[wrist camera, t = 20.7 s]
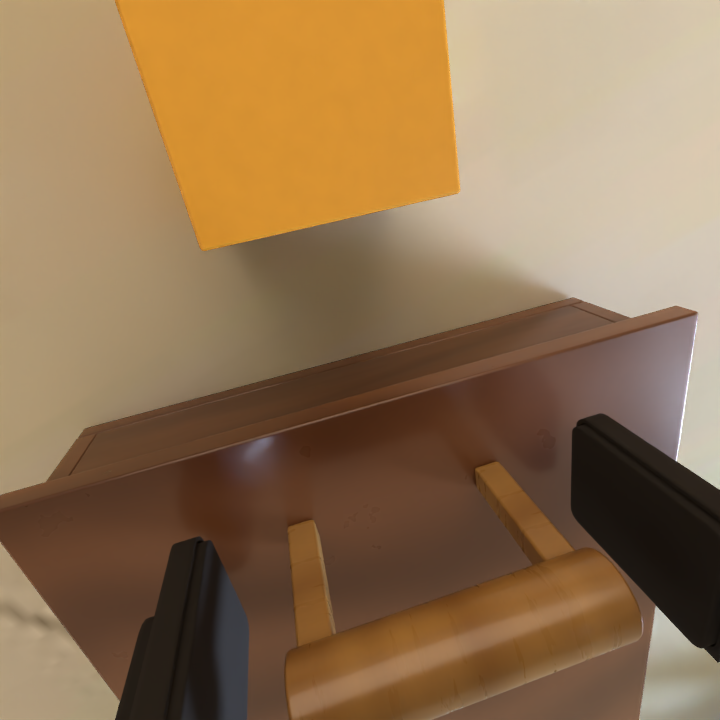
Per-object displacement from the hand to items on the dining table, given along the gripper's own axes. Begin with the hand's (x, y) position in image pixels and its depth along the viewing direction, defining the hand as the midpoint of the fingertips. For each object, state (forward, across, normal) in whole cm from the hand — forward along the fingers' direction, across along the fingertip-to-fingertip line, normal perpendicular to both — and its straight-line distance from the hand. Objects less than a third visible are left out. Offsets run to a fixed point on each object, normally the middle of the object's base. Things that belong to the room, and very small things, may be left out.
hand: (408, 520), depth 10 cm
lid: (+1, 0, +7) cm, 7 cm away
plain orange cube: (+6, 0, -10) cm, 11 cm away
